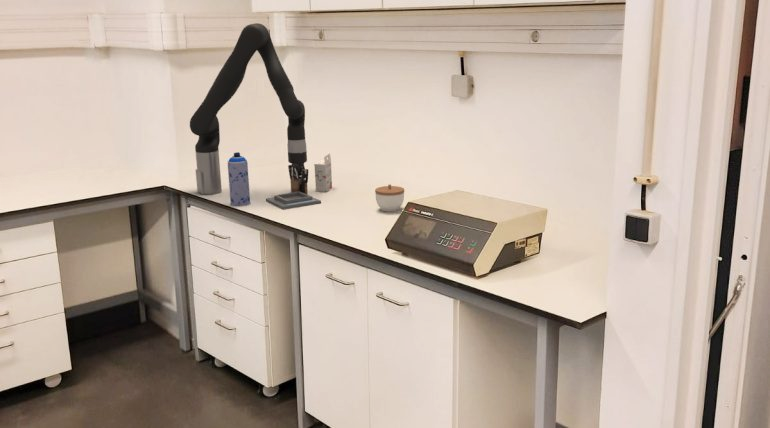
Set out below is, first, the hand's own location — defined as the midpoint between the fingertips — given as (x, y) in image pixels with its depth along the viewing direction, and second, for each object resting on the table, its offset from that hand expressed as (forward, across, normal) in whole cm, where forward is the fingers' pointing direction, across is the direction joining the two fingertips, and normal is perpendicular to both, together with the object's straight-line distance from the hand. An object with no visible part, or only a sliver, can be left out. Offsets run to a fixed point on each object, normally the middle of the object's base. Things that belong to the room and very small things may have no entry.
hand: (299, 191), depth 290 cm
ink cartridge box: (+1, -2, +12) cm, 12 cm away
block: (+1, 0, 0) cm, 1 cm away
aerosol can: (+1, 0, -26) cm, 26 cm away
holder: (+1, +11, -8) cm, 13 cm away
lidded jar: (+2, +42, +16) cm, 45 cm away
